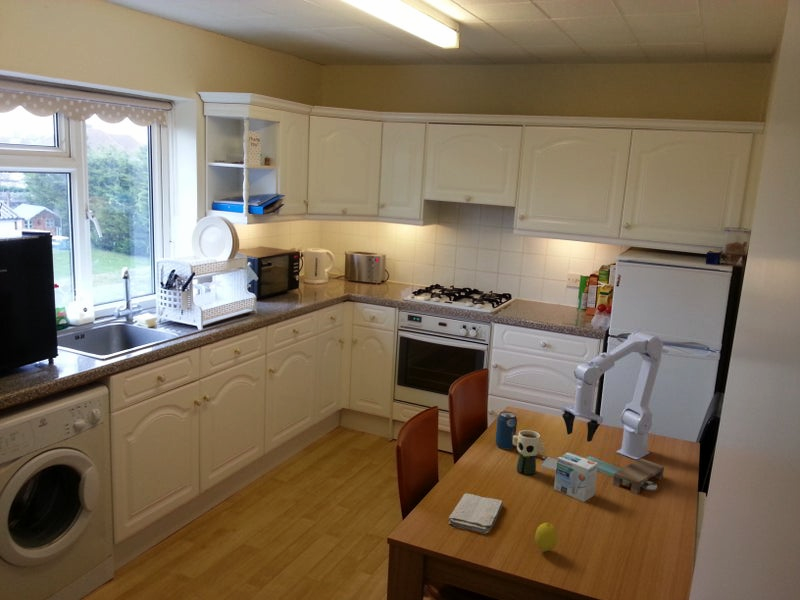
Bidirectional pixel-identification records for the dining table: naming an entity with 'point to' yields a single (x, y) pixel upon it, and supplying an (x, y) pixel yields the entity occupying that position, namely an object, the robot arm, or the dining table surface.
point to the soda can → (506, 429)
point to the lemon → (546, 537)
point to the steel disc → (649, 485)
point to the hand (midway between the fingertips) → (579, 437)
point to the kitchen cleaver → (547, 461)
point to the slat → (605, 467)
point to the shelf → (638, 474)
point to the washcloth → (476, 513)
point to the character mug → (528, 450)
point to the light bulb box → (575, 476)
